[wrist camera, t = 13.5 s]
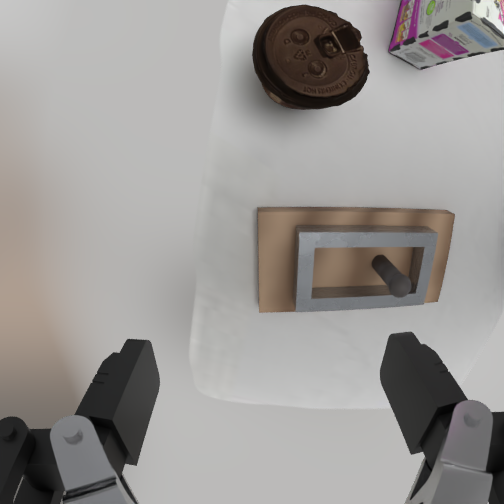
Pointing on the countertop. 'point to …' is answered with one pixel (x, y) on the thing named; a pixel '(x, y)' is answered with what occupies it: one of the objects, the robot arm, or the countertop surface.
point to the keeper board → (344, 252)
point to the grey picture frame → (360, 236)
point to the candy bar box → (447, 30)
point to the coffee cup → (309, 58)
